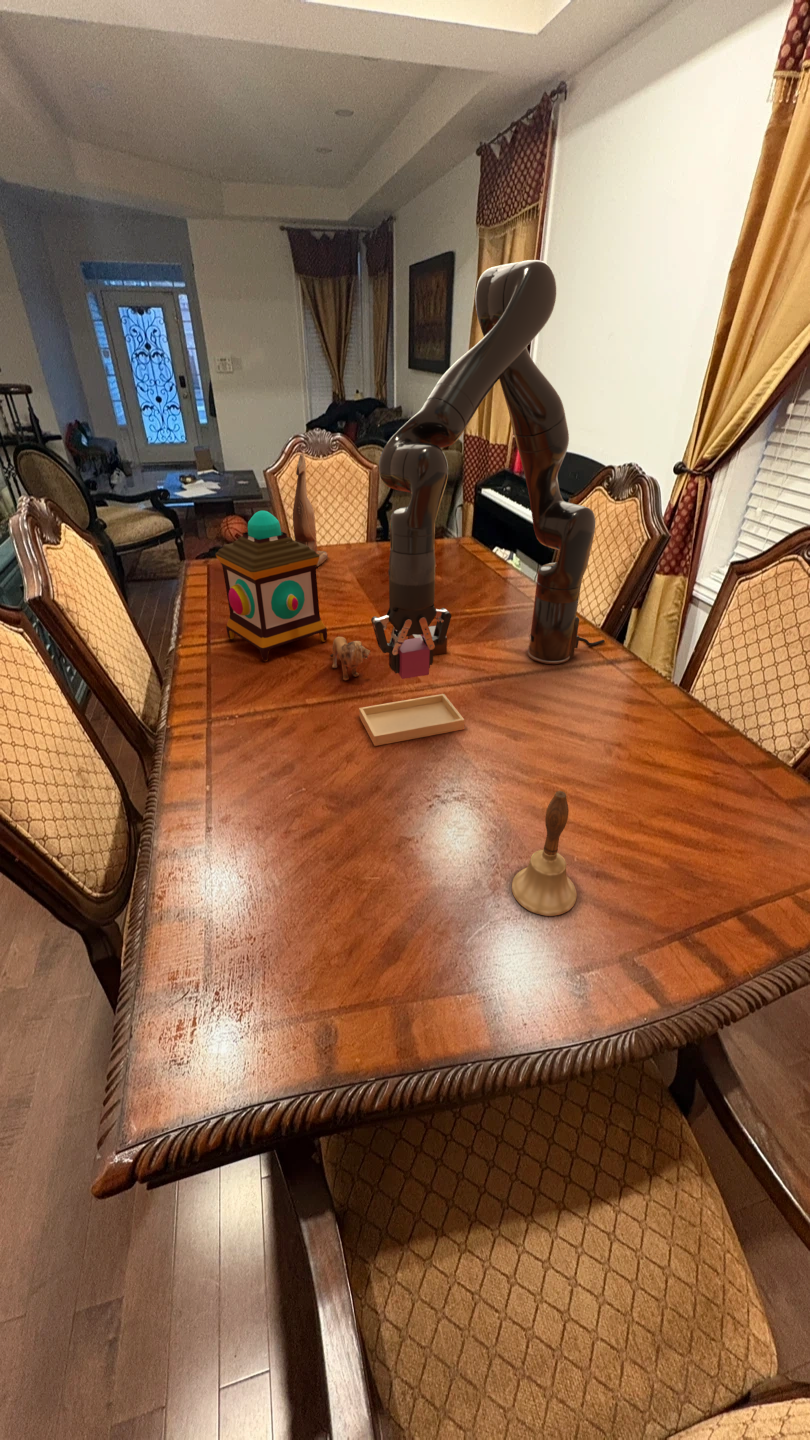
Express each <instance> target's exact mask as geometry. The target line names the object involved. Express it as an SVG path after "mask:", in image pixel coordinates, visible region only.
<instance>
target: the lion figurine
mask: <svg viewBox="0 0 810 1440" xmlns="http://www.w3.org/2000/svg"><path fill="white" fill-rule="evenodd" d="M370 653H371V650H370V649H368V648H366V647H365V645H363V643H362V641H360V640H353V641H350V642H348V641H347V639H346V638H345V637H344V636H336V637H335V638H334V639H333V642H332V654H330V655H329V657H331V658H332V666H331V667H332V669H337V668H338V664H337V663H338V660H337V659H338V658H339V660H340V663H341V669H342V681H349V674H348V668H349V669H352V670H351V675H352V676H353V677H357V678H358V677H359V676H360V675H359V674H360V673H359V672H357V668H358V667H359V665H361V664H362V663H363V662H364V660H367V659H368V656H370Z"/></svg>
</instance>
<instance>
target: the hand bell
mask: <svg viewBox="0 0 810 1440" xmlns="http://www.w3.org/2000/svg"><path fill="white" fill-rule="evenodd" d="M546 807H547V808H546V811H545V819H544V820H545V821H544V823H545V828H546V829H545V830H546V836H545V837H546V838H545V841H544V845H543V849H539V850H536V851H535V852H533V854H531V857H530V858H529V863H528V865H527V867H524V868H523V869H521V870H519V872H517V873H516V874H515V875H514V877H513V879H512V881H511V892H512V895H513V897H514V898H515V900H516V901H517V902H518V904H519V905H521V907H523V908H524V909H525V910H527V911H529V912H531V913H533V914H536V915H541V916H548V917H551V916H552V917H553V916H554V917H555V916H559V915H562V914H565V913H567V912H569V911H570V910H571V909H572V908H573V907H574V906H575V904H576V901H577V897H578V895H577V890H576V886H575V884H574V883H573V881H572V880H571V878H570V877H569V876H568V875H567V861H566V859H565V858H564V857H563V855H562V854H560V853H559V852H558V851H559V843H560V837H561V835H562V833H563V831H564V829H566V826H567V822H568V819H569V814H570V813H569V804H568V800H567V793H565V792H564V791H562V790H557V791H555V793H554V796H553V797H552V799H551V800H550V802H549V803H548V805H547V806H546Z"/></svg>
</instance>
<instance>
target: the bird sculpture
mask: <svg viewBox="0 0 810 1440" xmlns="http://www.w3.org/2000/svg"><path fill="white" fill-rule="evenodd" d="M306 464H307V462H306V458H305V455H304V454H300V455H299V457H298V461H297V464H296V472H295V474H296V476H297V479H296V487H295V495H294V500H293V501H294V502H293V507H292V527H293V535H294V541H296V542H299V543H301V544H304V545H306V546H309V548H310V549H312V550H314V551H315V552H316V553H317V554H319V555H320V557H319V561H318V563H317V566H316V568H317V567H319V566H320V565H321V564H323V563H324V562H325V561H326V560H327V559H328V558H329V557H328V553H327V551H325V550H318V544H317V543H318V542H317V528H316V527H317V526H316V517H315V516H316V515H315V510H314V506H313V505H312V502H311V501H310V499H309V497H308V489H307V471H306V469H307V465H306Z"/></svg>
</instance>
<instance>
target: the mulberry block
mask: <svg viewBox="0 0 810 1440" xmlns="http://www.w3.org/2000/svg"><path fill="white" fill-rule="evenodd" d="M399 655H400V673H397V674H398V675H399V677H400V678H401V679H402V680H404V679H405V680H406V679H411V678H417V677H423V676H429V675H430V668H429V656H430V649H429V648H428V647H427V645H426V644H425V643H424V642H423V641H422V640H421V638H413V639H408V638H407V639H406V638H405V641H404V643H403V644H402V645H401V648H400V651H399Z"/></svg>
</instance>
